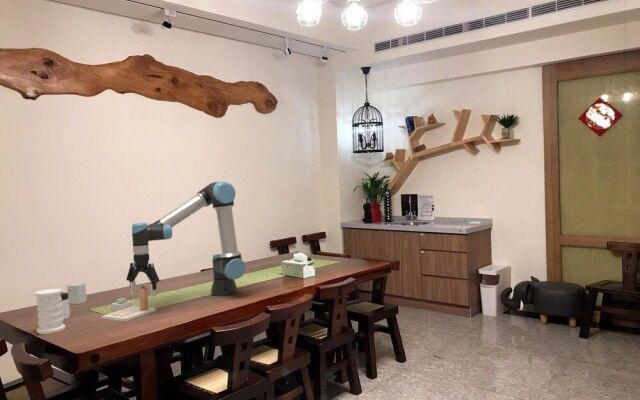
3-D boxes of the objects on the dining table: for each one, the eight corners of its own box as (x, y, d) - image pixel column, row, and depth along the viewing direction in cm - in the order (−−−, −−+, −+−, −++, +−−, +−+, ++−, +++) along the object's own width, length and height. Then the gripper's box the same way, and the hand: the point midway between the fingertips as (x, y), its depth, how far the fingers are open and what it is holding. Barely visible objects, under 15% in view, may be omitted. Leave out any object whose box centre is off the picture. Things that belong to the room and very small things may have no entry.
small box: (86, 301, 286) (85, 283, 285) (79, 304, 280) (77, 285, 280) (75, 301, 288) (74, 283, 288) (67, 303, 283) (66, 285, 282)
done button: (127, 305, 266) (127, 298, 266) (121, 307, 262) (121, 300, 262) (122, 305, 268) (121, 297, 267) (115, 307, 264) (115, 299, 264)
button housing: (132, 307, 266) (132, 301, 266) (121, 311, 260) (121, 304, 260) (122, 306, 270) (122, 300, 270) (111, 310, 263) (110, 303, 263)
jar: (66, 314, 258) (64, 291, 257) (73, 317, 252) (72, 293, 252) (47, 319, 251) (46, 295, 250) (54, 321, 246) (53, 297, 245)
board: (156, 310, 258) (156, 308, 258) (125, 321, 240) (125, 318, 240) (133, 308, 265) (133, 306, 265) (101, 318, 247) (101, 316, 247)
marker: (150, 309, 257) (148, 285, 257) (144, 311, 254) (142, 287, 253) (144, 308, 259) (143, 285, 258) (138, 310, 255) (137, 286, 255)
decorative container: (30, 333, 227) (28, 293, 227) (52, 325, 238) (50, 287, 237) (49, 334, 223) (47, 294, 222) (71, 327, 234) (68, 288, 233)
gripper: (165, 253, 253) (167, 295, 254) (128, 251, 264) (131, 292, 265) (154, 255, 246) (156, 298, 247) (117, 254, 257) (119, 295, 258)
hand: (143, 295), depth 256 cm, fingers open, 13 cm apart
